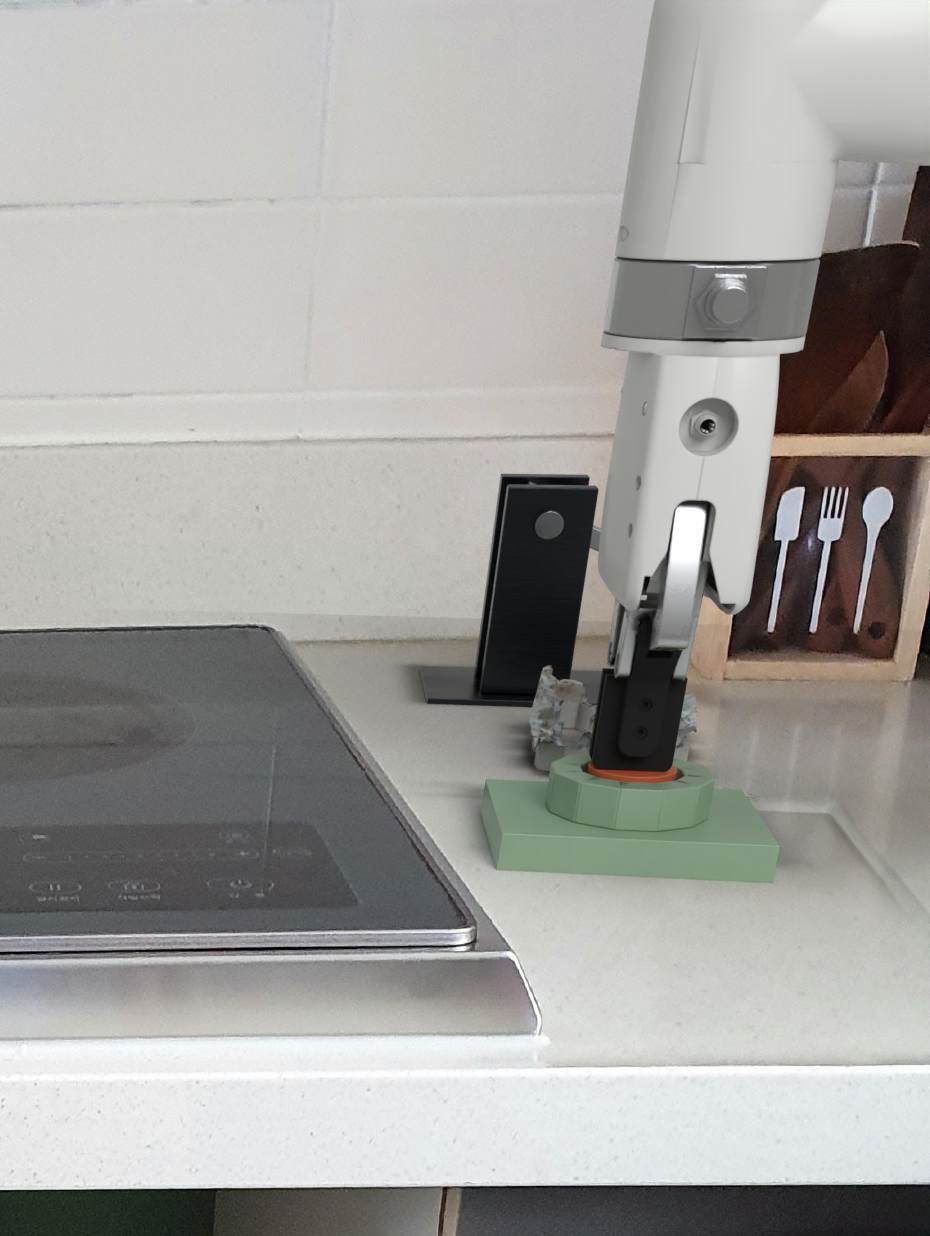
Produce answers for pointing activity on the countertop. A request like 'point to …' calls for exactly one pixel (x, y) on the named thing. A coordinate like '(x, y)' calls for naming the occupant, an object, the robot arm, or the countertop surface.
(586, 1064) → the countertop surface
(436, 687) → the bracket
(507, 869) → the button box
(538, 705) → the egg carton
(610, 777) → the button
